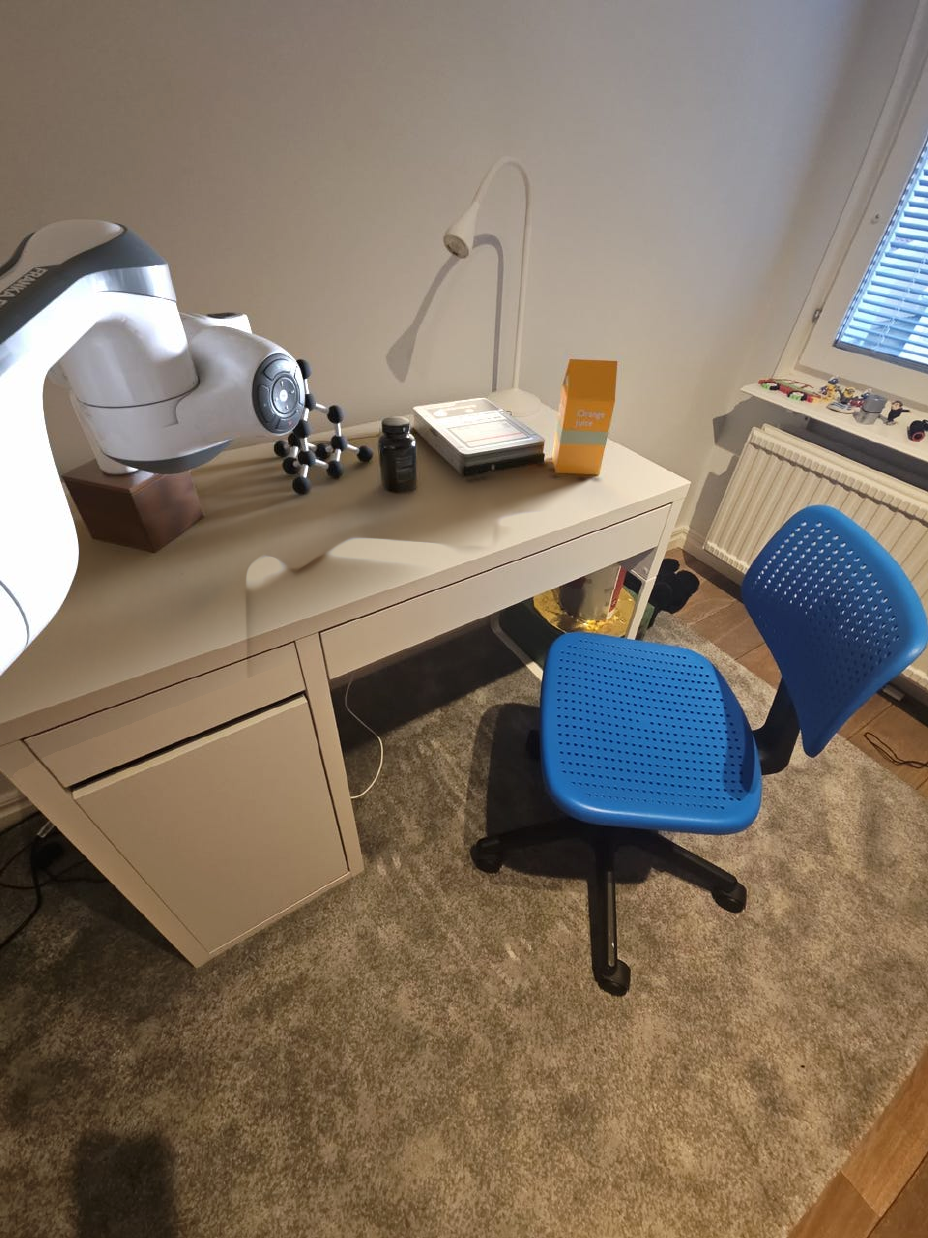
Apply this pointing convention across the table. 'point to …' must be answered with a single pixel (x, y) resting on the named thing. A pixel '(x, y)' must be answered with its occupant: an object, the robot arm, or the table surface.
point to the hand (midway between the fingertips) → (115, 336)
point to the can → (102, 460)
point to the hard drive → (477, 436)
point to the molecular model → (321, 450)
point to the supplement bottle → (397, 456)
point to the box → (139, 511)
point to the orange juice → (584, 416)
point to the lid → (110, 478)
